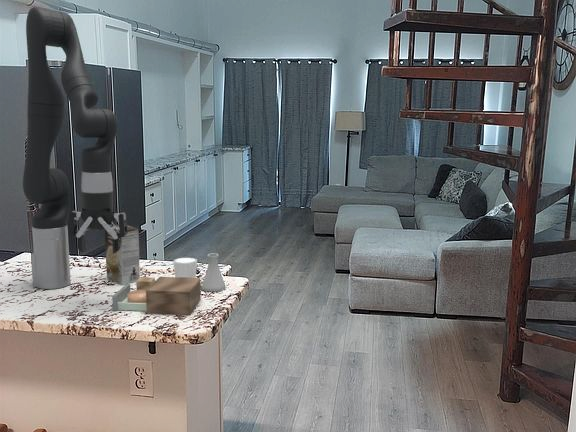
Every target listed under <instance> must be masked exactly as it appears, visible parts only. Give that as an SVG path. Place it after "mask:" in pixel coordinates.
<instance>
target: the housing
mask: <svg viewBox="0 0 576 432" xmlns="http://www.w3.org/2000/svg"><path fill="white" fill-rule="evenodd" d="M201 291H202V290H201V278H200V277H196V278H186V277H175V276H159V277H158V278H157V279H155V282H154V283H153V284H152V285H151V286H150V287H149V288H148V289H147V290H146V308H147V311H146V314H148V315H149V314H150V315H151V314H153V315H171V316H172V315H174V316H175V315H176V316H177V315H178V316H191V315H192V313H193V311H194V310H195V309H196V307H197V306H198V304H199V303H200V301H201V299H202V298H201V296H202V295H201V294H202V293H201Z"/></svg>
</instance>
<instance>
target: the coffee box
mask: <svg viewBox="0 0 576 432" xmlns="http://www.w3.org/2000/svg"><path fill="white" fill-rule="evenodd" d="M114 225H115V226H116V229H117V230H118V231H119V232H120V229H119V223H118V224H114ZM127 231H128V234H127V235H125V236H124V237H121V238H120V250H119V251H118V252H117V253H113V239H114V238H113V237H112V236H111V234H110V233H108V232H107V231H106V229H104V243H105V267H106V279H107V280H110V281H111V282H114V283H116V284H119V285H122V286H125V285H126V284H133V283H136V281H137V280H138V279H139V278H141V277H140V276H141V274H140V273H141V271H140V267H141V266H140V232H139V228H138V227H135V226H132V225H129V224H127Z"/></svg>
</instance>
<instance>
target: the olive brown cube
mask: <svg viewBox="0 0 576 432" xmlns="http://www.w3.org/2000/svg"><path fill="white" fill-rule="evenodd" d="M155 281H156V278H155V277H147V276H143V277H142V276H141V277H140V278H139V279H138V280H137V281H136V282H135V283H136V285H135V286H136V290H147V289H148V288H149V287H150V286H151V285H152V284H153V283H154V282H155Z"/></svg>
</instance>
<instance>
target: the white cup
mask: <svg viewBox="0 0 576 432" xmlns="http://www.w3.org/2000/svg"><path fill="white" fill-rule="evenodd" d="M172 261H173V262H172V263H173V270H174V277H186V278H197V267H198V266H197V265H198V259H197V258H195V257H179V258H176V259H174V260H172Z"/></svg>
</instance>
